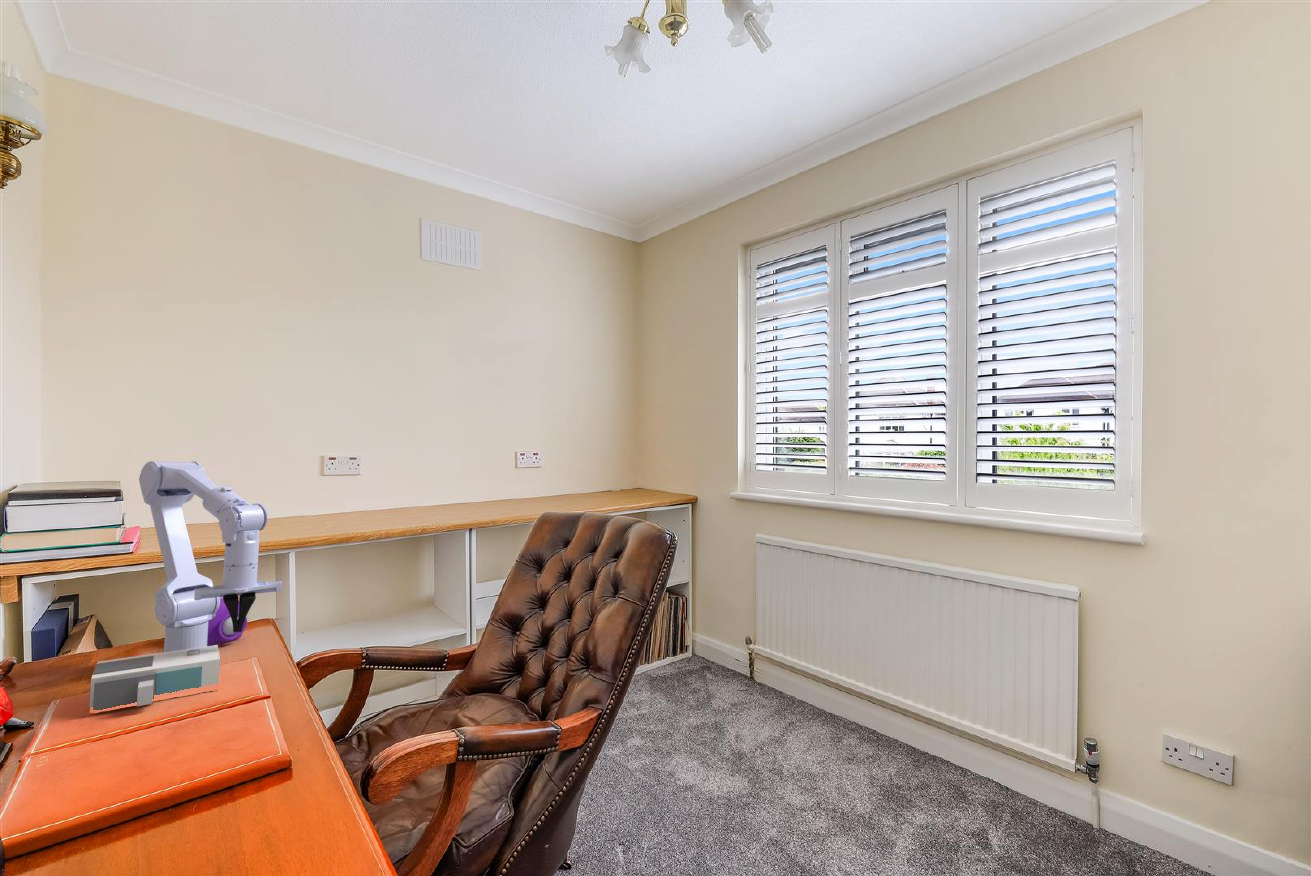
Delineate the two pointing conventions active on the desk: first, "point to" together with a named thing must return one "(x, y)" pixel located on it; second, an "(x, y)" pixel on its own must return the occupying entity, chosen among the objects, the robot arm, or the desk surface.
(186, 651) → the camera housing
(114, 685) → the side door
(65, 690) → the desk surface
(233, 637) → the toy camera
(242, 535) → the robot arm
